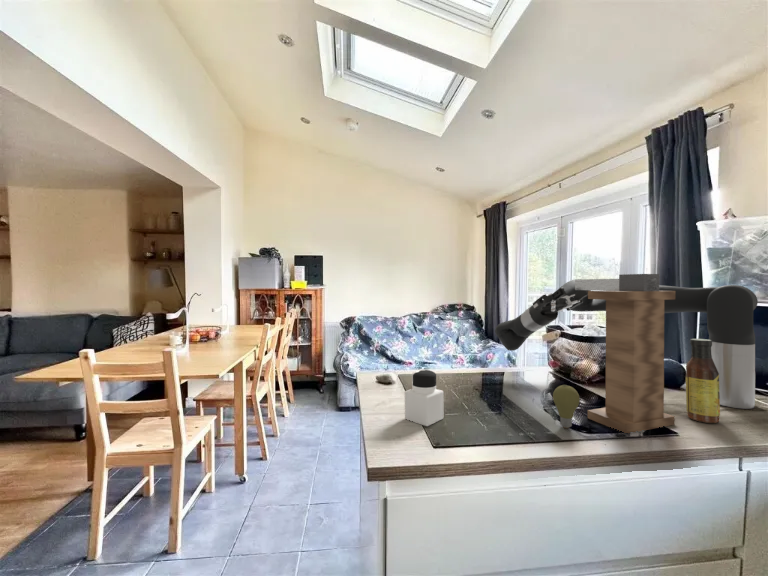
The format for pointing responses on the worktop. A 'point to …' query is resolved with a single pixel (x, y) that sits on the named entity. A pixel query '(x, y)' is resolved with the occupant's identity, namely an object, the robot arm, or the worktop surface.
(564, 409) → the light bulb
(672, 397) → the worktop surface
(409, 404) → the medicine bottle
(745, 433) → the worktop surface
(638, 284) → the grey metal bar
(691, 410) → the sauce bottle
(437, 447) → the worktop surface
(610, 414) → the stand
